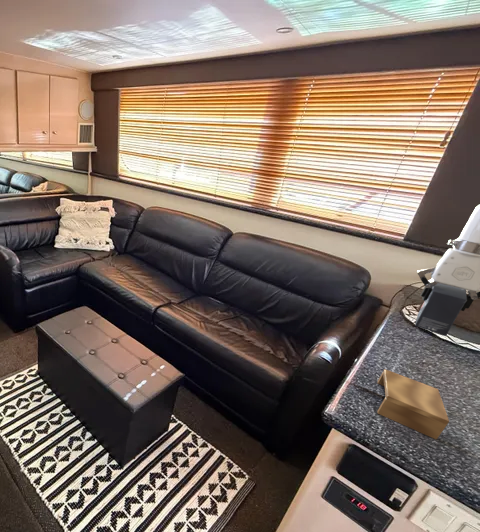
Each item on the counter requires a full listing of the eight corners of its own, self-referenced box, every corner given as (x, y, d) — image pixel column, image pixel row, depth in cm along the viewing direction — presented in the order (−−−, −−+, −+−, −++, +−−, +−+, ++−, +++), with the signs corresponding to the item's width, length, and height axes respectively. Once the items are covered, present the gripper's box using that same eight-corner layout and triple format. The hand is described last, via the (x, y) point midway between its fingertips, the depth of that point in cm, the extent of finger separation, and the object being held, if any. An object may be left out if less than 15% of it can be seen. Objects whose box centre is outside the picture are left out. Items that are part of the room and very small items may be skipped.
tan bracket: (427, 406, 87) (438, 389, 85) (436, 439, 76) (449, 421, 74) (375, 385, 94) (384, 368, 91) (377, 413, 83) (387, 395, 81)
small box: (416, 313, 104) (434, 280, 100) (446, 323, 100) (466, 289, 95) (413, 325, 96) (433, 290, 91) (446, 336, 91) (468, 299, 87)
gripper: (432, 242, 91) (403, 297, 98) (528, 260, 81) (488, 320, 87) (429, 238, 97) (402, 290, 103) (518, 254, 86) (482, 311, 93)
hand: (442, 303), depth 95 cm, fingers closed on small box, 7 cm apart
